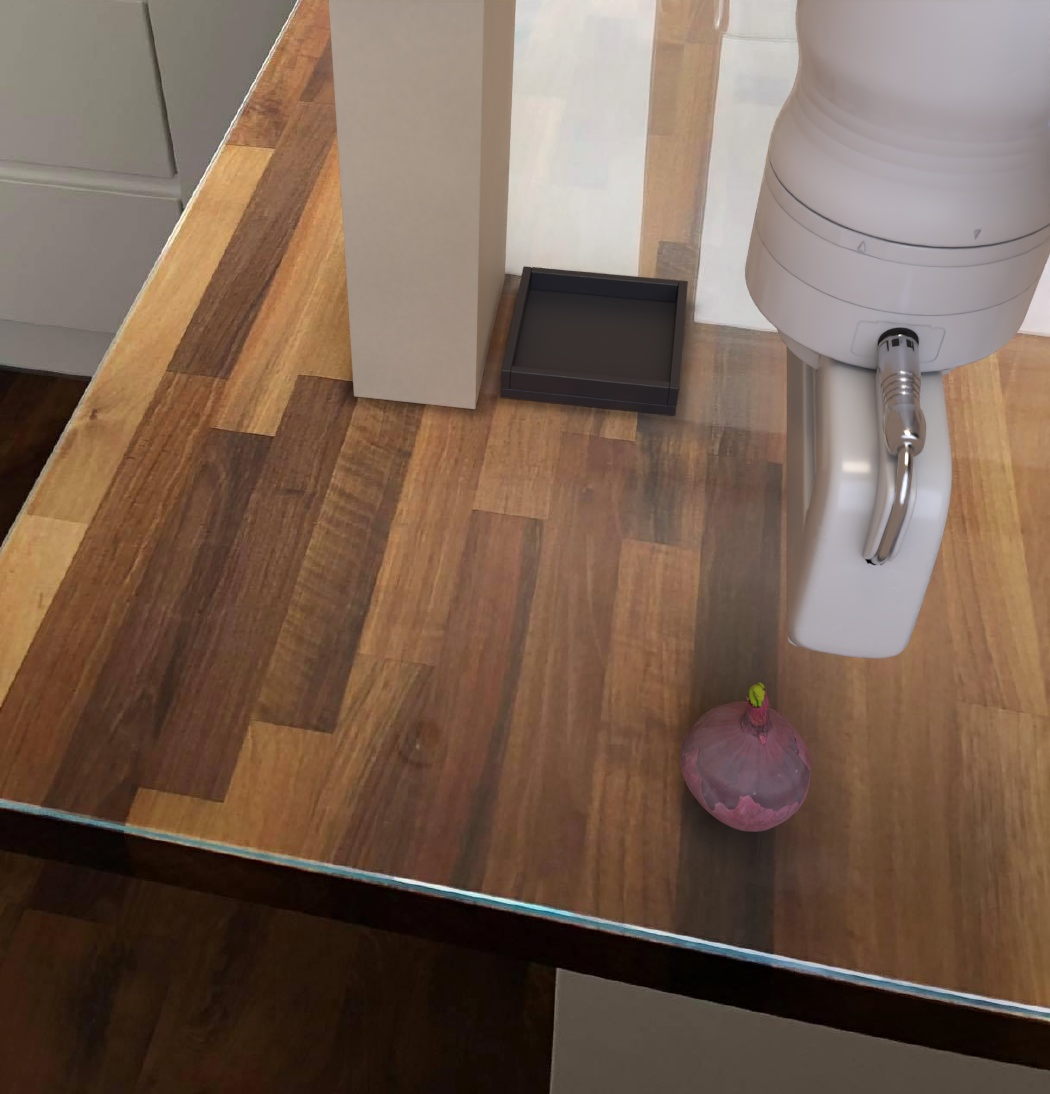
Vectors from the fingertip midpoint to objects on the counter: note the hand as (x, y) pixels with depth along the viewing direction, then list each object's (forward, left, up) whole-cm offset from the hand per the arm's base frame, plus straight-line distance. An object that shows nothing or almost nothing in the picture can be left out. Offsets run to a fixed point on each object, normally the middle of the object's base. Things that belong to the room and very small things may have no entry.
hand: (808, 540), depth 54 cm
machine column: (+21, -34, -20) cm, 45 cm away
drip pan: (+10, -34, -20) cm, 41 cm away
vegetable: (0, 0, -20) cm, 20 cm away
